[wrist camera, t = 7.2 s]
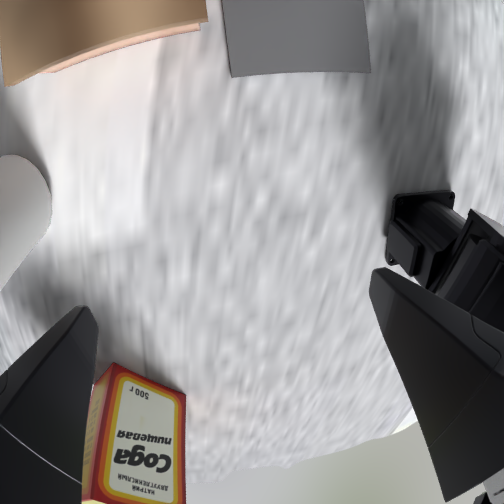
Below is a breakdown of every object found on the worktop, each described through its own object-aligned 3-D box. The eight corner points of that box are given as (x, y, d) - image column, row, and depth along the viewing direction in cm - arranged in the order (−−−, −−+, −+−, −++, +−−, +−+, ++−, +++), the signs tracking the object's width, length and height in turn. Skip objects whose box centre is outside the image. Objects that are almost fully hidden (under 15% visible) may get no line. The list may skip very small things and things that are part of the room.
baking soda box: (93, 384, 31) (72, 504, 17) (113, 362, 29) (89, 502, 15) (159, 413, 35) (155, 525, 21) (186, 395, 33) (186, 522, 19)
